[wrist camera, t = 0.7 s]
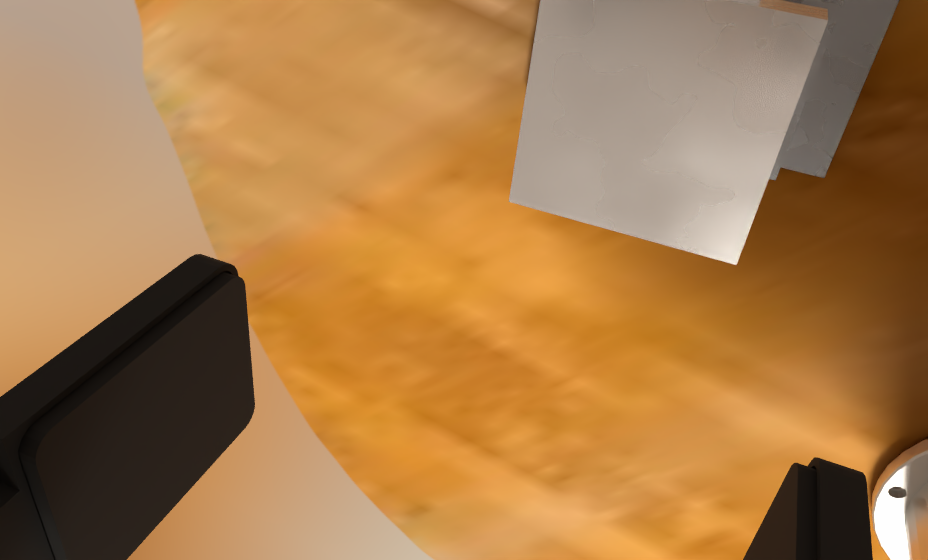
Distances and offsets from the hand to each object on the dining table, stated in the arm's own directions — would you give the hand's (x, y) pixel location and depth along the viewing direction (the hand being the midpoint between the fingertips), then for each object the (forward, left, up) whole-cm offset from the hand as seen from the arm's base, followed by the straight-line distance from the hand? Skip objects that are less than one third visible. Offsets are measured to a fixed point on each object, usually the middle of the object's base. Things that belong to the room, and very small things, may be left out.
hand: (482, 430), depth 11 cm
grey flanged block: (0, -1, -22) cm, 22 cm away
